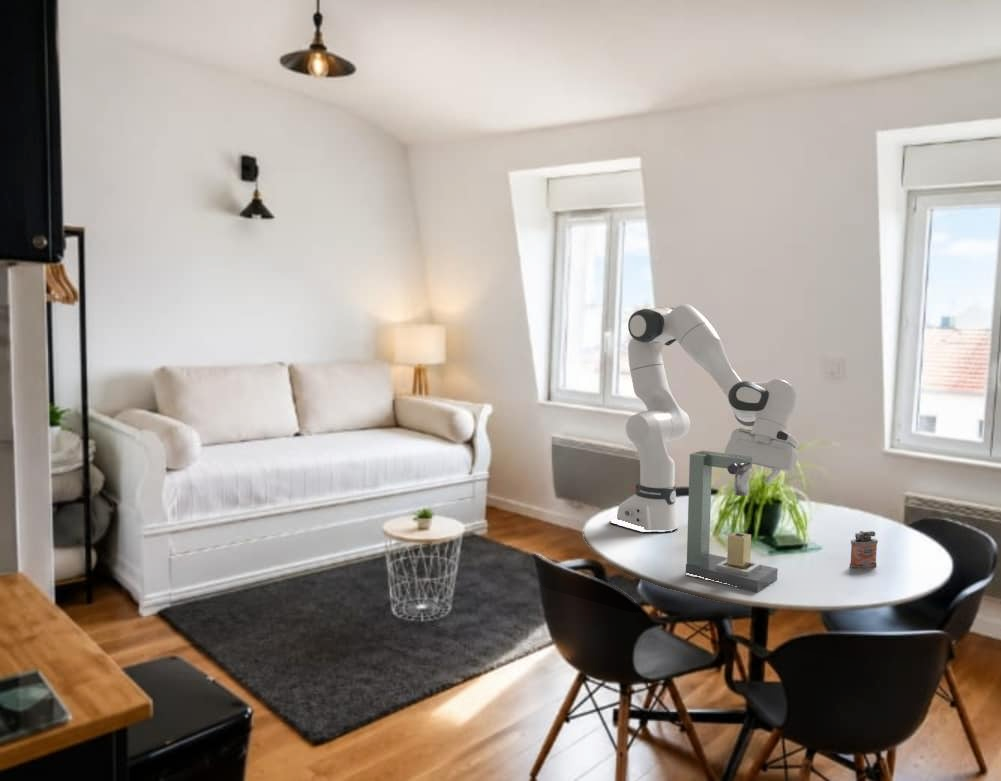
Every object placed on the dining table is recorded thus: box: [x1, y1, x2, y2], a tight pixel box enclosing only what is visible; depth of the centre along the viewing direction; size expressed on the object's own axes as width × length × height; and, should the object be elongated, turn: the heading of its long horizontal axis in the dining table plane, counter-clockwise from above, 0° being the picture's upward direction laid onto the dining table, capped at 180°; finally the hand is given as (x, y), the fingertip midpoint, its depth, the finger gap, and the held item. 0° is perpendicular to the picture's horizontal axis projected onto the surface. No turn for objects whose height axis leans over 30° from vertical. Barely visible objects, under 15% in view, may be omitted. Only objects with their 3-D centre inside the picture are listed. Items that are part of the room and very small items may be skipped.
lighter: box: [849, 530, 879, 570], centre depth 225 cm, size 8×3×10 cm, turn 106°
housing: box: [726, 531, 752, 570], centre depth 214 cm, size 4×4×9 cm
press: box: [685, 450, 779, 593], centre depth 212 cm, size 20×18×33 cm
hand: (751, 479), depth 227 cm, fingers open, 8 cm apart
